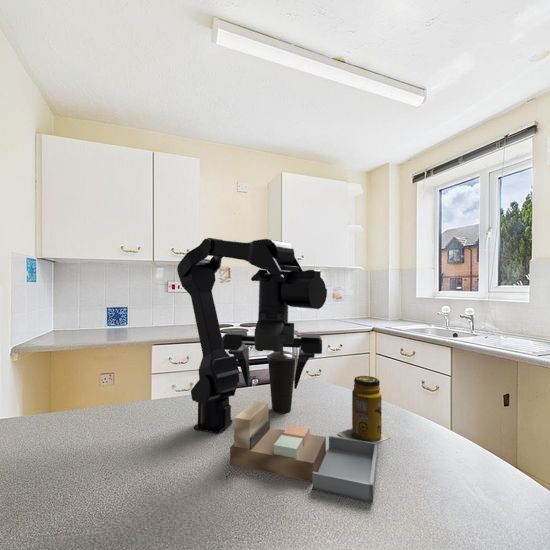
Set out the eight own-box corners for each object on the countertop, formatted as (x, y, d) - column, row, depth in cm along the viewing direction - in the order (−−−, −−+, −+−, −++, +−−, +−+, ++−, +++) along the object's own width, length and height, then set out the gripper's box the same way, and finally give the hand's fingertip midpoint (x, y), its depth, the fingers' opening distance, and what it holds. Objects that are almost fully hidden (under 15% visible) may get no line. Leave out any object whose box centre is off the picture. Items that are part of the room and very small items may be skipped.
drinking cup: (268, 403, 89) (269, 328, 90) (297, 405, 88) (297, 329, 89) (264, 414, 81) (264, 332, 82) (295, 416, 80) (295, 333, 81)
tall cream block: (234, 446, 59) (234, 417, 59) (254, 426, 67) (254, 401, 67) (251, 449, 58) (251, 420, 58) (270, 428, 66) (270, 403, 66)
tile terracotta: (283, 441, 61) (283, 432, 61) (289, 432, 65) (289, 424, 65) (304, 444, 60) (304, 436, 60) (309, 435, 63) (309, 427, 63)
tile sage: (273, 453, 56) (273, 444, 56) (281, 443, 60) (281, 435, 60) (296, 458, 55) (296, 448, 55) (302, 447, 59) (302, 438, 59)
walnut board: (229, 464, 58) (230, 447, 59) (252, 439, 68) (253, 425, 68) (313, 482, 53) (313, 463, 53) (325, 453, 63) (325, 436, 63)
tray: (312, 489, 51) (312, 473, 51) (329, 448, 64) (329, 435, 65) (372, 503, 48) (372, 485, 48) (377, 456, 61) (377, 443, 61)
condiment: (390, 438, 69) (390, 380, 70) (362, 448, 65) (362, 386, 65) (363, 425, 75) (363, 372, 76) (336, 434, 71) (336, 377, 71)
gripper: (214, 306, 57) (211, 398, 56) (324, 310, 55) (322, 405, 55) (229, 302, 68) (227, 379, 68) (321, 305, 66) (319, 384, 66)
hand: (271, 386), depth 64 cm, fingers open, 9 cm apart
